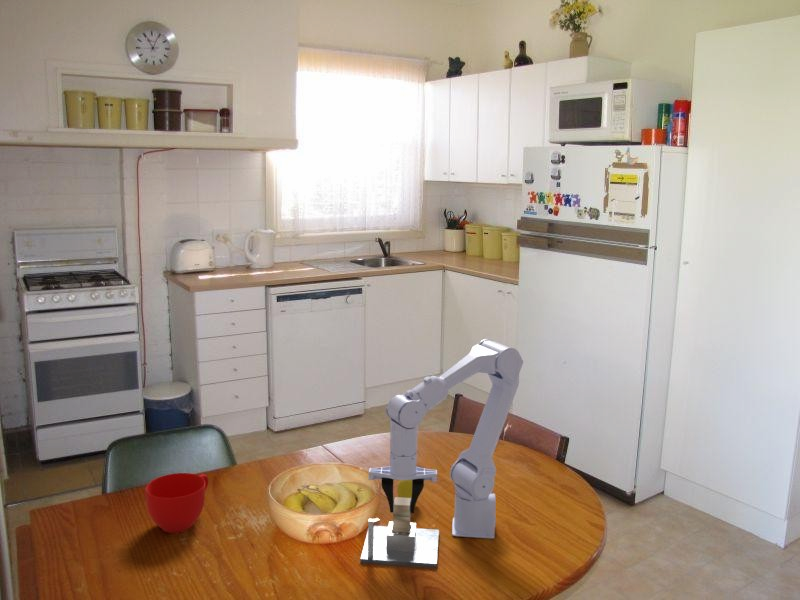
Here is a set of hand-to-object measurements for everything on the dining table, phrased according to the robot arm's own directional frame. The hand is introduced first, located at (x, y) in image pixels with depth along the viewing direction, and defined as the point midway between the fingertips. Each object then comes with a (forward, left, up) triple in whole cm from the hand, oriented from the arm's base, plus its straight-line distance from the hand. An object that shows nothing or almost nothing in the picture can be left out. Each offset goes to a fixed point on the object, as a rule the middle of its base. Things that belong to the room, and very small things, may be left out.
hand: (402, 510), depth 153 cm
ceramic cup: (+51, -5, -9) cm, 52 cm away
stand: (0, 0, -9) cm, 9 cm away
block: (0, 0, -4) cm, 4 cm away
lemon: (0, -20, -9) cm, 22 cm away
